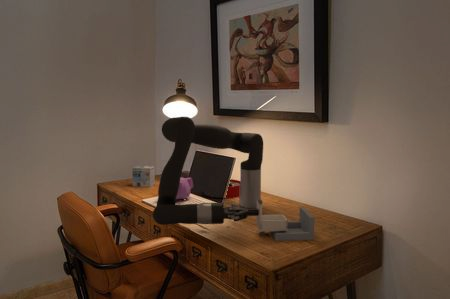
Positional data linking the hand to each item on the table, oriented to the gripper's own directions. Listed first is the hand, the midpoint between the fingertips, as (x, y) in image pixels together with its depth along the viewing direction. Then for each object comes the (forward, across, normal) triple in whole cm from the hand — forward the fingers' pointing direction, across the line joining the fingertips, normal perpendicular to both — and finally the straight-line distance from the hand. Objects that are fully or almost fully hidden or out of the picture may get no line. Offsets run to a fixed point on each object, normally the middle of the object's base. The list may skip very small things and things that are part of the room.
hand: (258, 212), depth 143 cm
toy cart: (+5, 0, +8) cm, 9 cm away
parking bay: (+11, 0, +8) cm, 14 cm away
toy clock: (-8, +62, +9) cm, 63 cm away
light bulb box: (-51, +84, +9) cm, 99 cm away
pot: (-32, +53, +9) cm, 62 cm away
